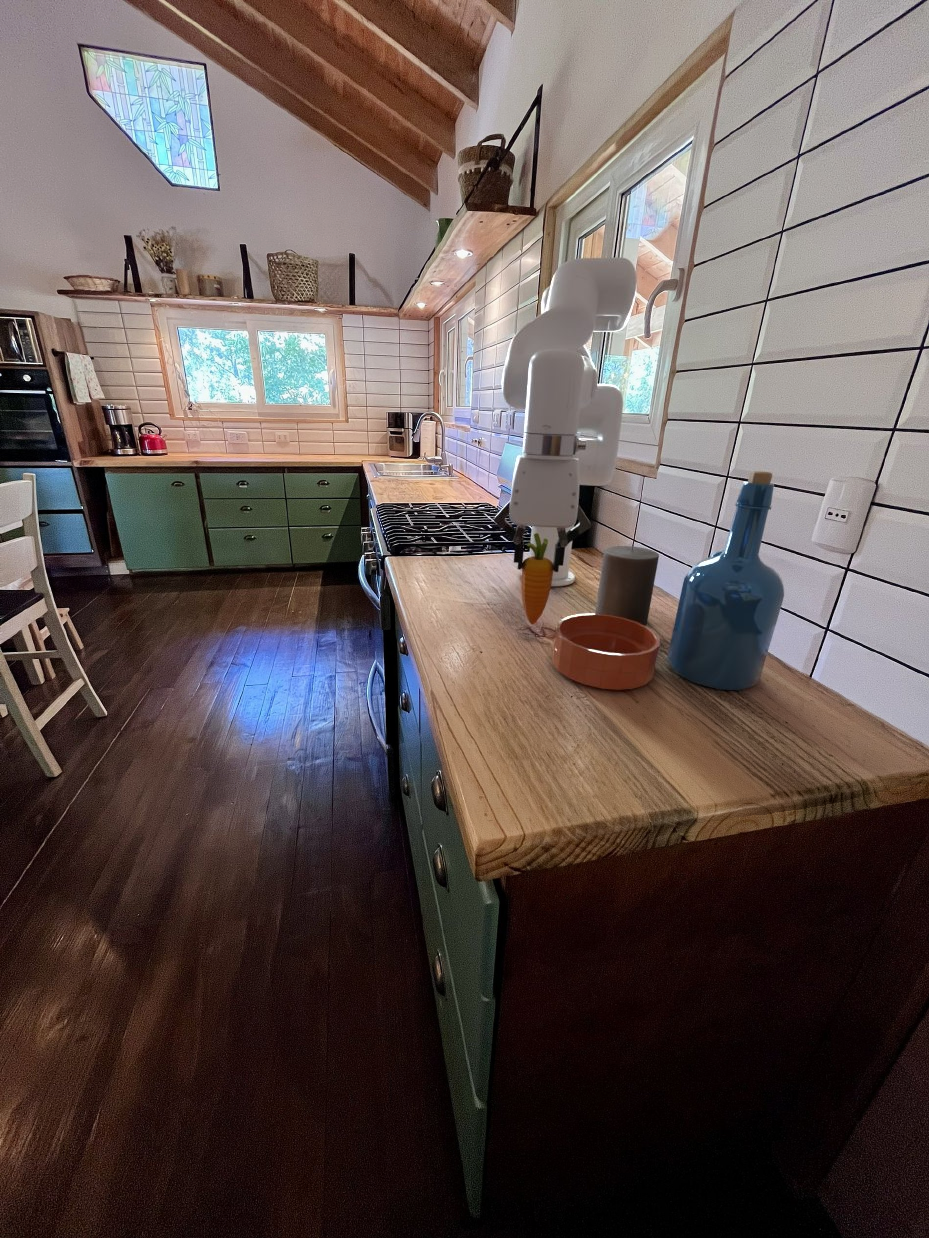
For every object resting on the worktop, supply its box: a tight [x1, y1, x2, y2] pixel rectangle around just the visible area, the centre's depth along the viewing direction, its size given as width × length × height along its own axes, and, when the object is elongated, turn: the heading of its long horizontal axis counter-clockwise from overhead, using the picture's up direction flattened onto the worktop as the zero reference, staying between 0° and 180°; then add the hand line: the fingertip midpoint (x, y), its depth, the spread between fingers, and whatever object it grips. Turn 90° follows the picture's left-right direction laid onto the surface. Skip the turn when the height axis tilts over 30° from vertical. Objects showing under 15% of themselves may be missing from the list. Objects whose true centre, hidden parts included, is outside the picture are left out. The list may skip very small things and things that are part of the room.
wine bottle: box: [667, 470, 785, 691], centre depth 72 cm, size 14×13×30 cm
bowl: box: [551, 613, 661, 691], centre depth 76 cm, size 15×15×6 cm
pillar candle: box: [594, 544, 660, 627], centre depth 92 cm, size 10×10×15 cm
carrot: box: [520, 533, 554, 626], centre depth 79 cm, size 5×5×15 cm
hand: (537, 567), depth 79 cm, fingers closed on carrot, 5 cm apart
